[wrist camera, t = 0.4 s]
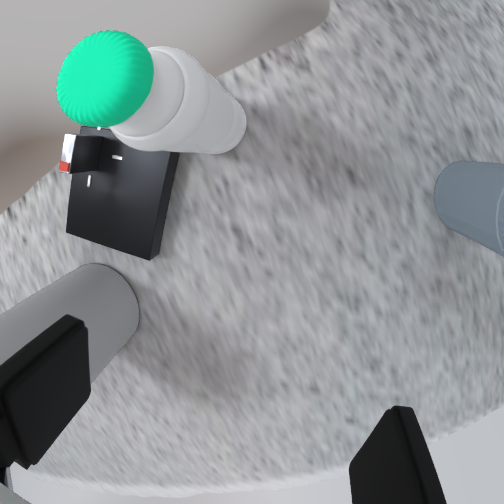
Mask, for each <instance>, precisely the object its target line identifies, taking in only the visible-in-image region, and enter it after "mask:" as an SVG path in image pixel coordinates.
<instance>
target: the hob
mask: <svg viewBox="0 0 504 504" xmlns="http://www.w3.org/2000/svg"><path fill="white" fill-rule="evenodd" d="M80 134H85V135H96V136H102V137H103V138H102V143H101V148H100V153H99V158H98V164H97V169H96V171H90V172H81V173H73V174H72V181H71V189H70V196H69V205H68V215H67V226H66V233H69V234H72V235H75V236H78V237H81V238H84V239H86V240H89V241H92V242H95V243H98V244H101V245H104V246H107V247H110V248H113V249H116V250H119V251H122V252H125V253H128V254H131V255H134V256H137V257H140V258H143V259H146V260H149V261H150V260H151V259H153V258H154V257H155V256H157V255H158V254H159V252H160V246H161V240H162V235H163V229H164V224H165V219H166V214H167V209H168V204H169V199H170V194H171V189H172V185H173V180H174V175H175V171H176V167H177V162H178V158H179V154H180V152H171V151H163V150H161V151H142V150H138V149H135V148H132V147H130V146H128V145H126V144H124V143H123V142H122V141H120V140H119V139H118V138H117V137H116V136H115V135H114V134H113V132H112V131H111V130H110V129H104V128H101V127H98V128H97V127H89V126H81V129H80Z"/></svg>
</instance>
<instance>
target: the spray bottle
mask: <svg viewBox="0 0 504 504" xmlns="http://www.w3.org/2000/svg"><path fill="white" fill-rule="evenodd" d="M434 201H435V207H436V211H437V213H438V215H439V217H440V219H441V221H442V222H443V223H444V224H445V225H446V226H447V227H448V228H450V229H452V230H454V231H456V232H458V233H460V234H462V235H464V236H466V237H468V238H470V239H472V240H474V241H476V242H477V243H479V244H481V245H483V246H485V247H487V248H489V249H490V250H492V251H494V252H496V253H498V254H500V255H501V256H503V257H504V164H501V163H489V162H474V161H458V162H454V163H452V164H450V165H449V166H447V167H446V168H445V169H444V170H443V172H442V173H441V174H440V176H439V177H438V180H437V183H436V186H435V194H434Z"/></svg>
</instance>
